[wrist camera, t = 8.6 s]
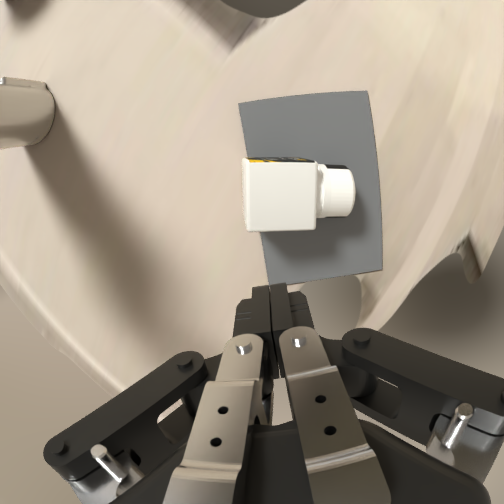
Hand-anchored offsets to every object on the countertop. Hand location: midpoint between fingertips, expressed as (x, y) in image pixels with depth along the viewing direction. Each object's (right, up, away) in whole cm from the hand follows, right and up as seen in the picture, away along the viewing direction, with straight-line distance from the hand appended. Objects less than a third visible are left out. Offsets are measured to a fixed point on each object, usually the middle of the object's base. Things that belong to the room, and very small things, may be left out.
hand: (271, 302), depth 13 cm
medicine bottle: (-2, +9, +19) cm, 21 cm away
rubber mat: (+7, +10, +23) cm, 26 cm away
